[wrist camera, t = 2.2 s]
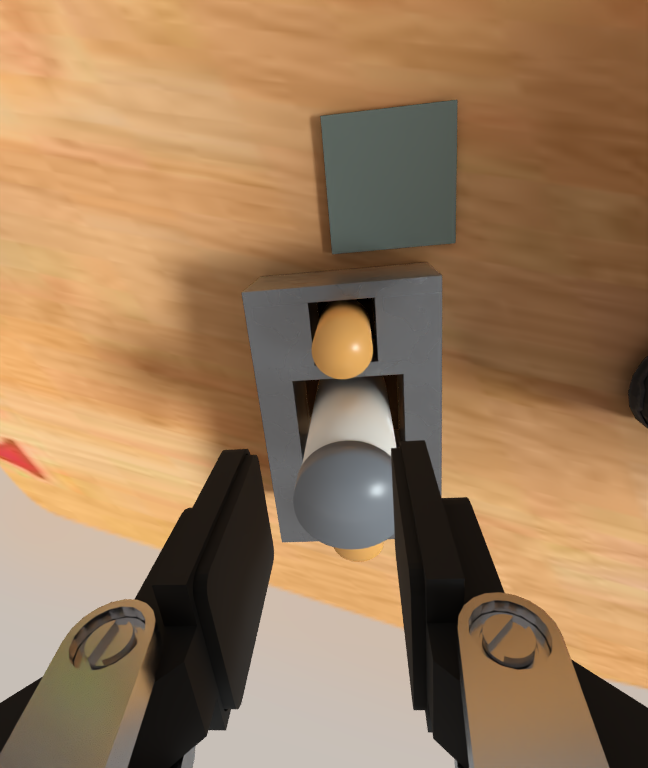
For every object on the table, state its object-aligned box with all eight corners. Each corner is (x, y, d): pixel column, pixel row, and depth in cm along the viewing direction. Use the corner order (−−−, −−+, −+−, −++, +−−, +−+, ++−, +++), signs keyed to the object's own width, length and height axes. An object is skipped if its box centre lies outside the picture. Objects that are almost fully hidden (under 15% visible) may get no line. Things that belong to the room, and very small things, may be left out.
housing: (260, 276, 28) (241, 292, 23) (427, 262, 27) (442, 275, 22) (292, 494, 34) (282, 542, 29) (429, 489, 33) (441, 537, 28)
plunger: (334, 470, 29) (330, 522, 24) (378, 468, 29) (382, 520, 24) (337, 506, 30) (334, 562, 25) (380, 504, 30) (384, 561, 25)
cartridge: (312, 360, 29) (286, 458, 18) (386, 355, 29) (406, 452, 18) (319, 425, 31) (299, 551, 20) (389, 421, 31) (409, 547, 20)
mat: (321, 117, 24) (320, 116, 24) (455, 101, 23) (457, 99, 23) (332, 253, 27) (332, 254, 26) (453, 242, 26) (455, 242, 26)
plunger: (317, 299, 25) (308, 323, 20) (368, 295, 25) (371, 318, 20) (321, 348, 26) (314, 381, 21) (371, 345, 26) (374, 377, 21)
